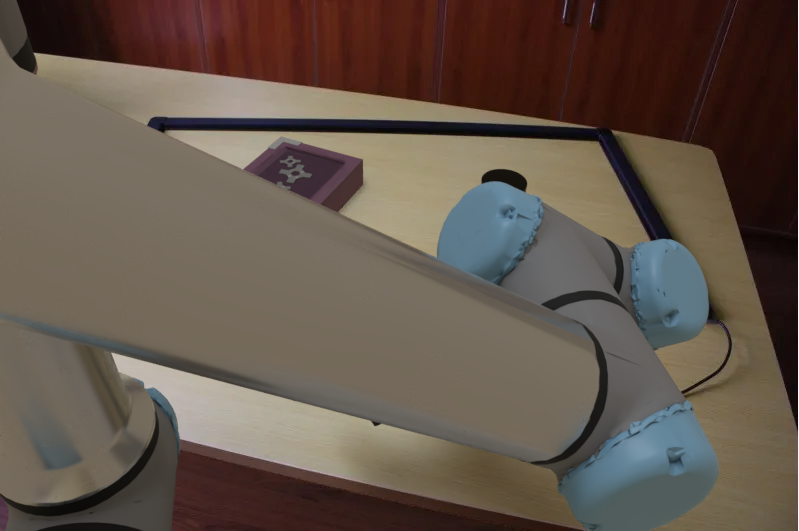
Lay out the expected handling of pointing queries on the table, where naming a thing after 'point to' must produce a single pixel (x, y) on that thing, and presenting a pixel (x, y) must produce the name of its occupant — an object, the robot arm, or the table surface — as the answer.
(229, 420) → the table surface
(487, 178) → the supplement container
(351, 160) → the book
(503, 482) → the table surface
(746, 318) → the table surface
